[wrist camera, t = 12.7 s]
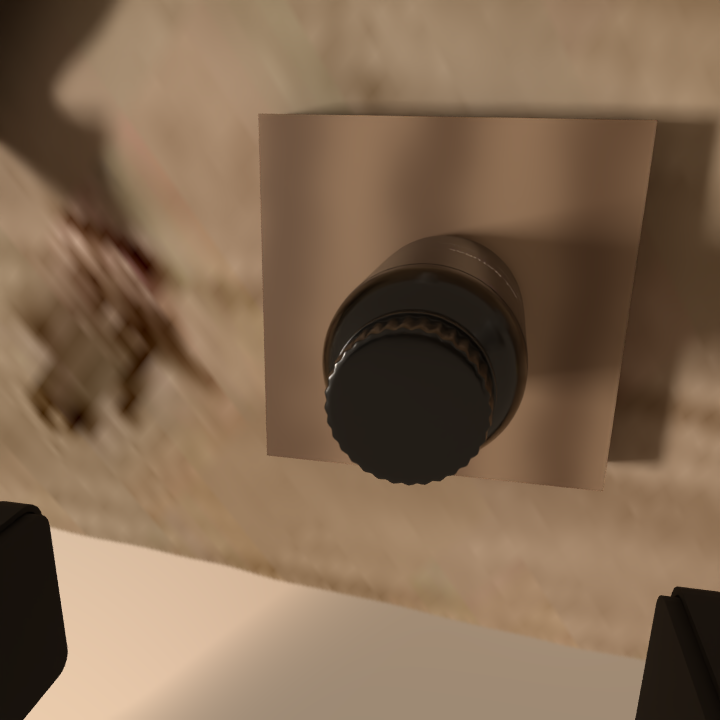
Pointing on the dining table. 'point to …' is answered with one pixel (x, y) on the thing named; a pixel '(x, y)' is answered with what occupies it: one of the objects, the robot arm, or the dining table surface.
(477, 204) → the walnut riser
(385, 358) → the supplement bottle
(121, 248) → the dining table surface
